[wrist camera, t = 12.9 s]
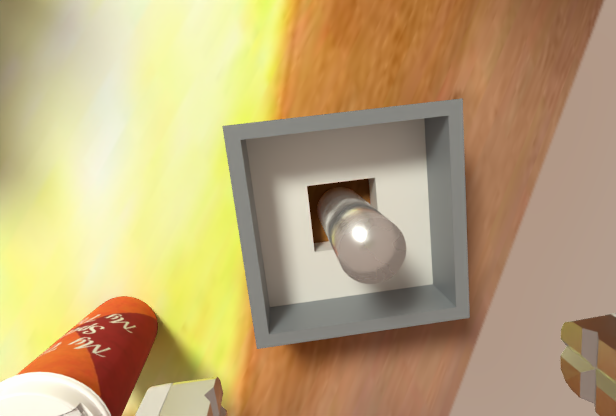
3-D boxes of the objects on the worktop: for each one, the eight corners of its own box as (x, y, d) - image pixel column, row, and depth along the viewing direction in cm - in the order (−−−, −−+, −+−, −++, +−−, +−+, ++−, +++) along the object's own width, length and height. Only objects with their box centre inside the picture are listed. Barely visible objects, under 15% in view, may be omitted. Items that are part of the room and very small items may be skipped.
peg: (314, 189, 34) (334, 222, 22) (360, 184, 34) (404, 213, 23) (319, 234, 35) (341, 288, 23) (364, 228, 35) (408, 279, 24)
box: (233, 126, 33) (222, 126, 26) (424, 104, 33) (462, 98, 27) (260, 306, 36) (257, 348, 29) (433, 282, 37) (469, 317, 30)
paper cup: (143, 270, 34) (55, 363, 21) (186, 342, 36) (131, 473, 22) (61, 308, 34) (-79, 426, 21) (108, 378, 36) (6, 531, 22)
